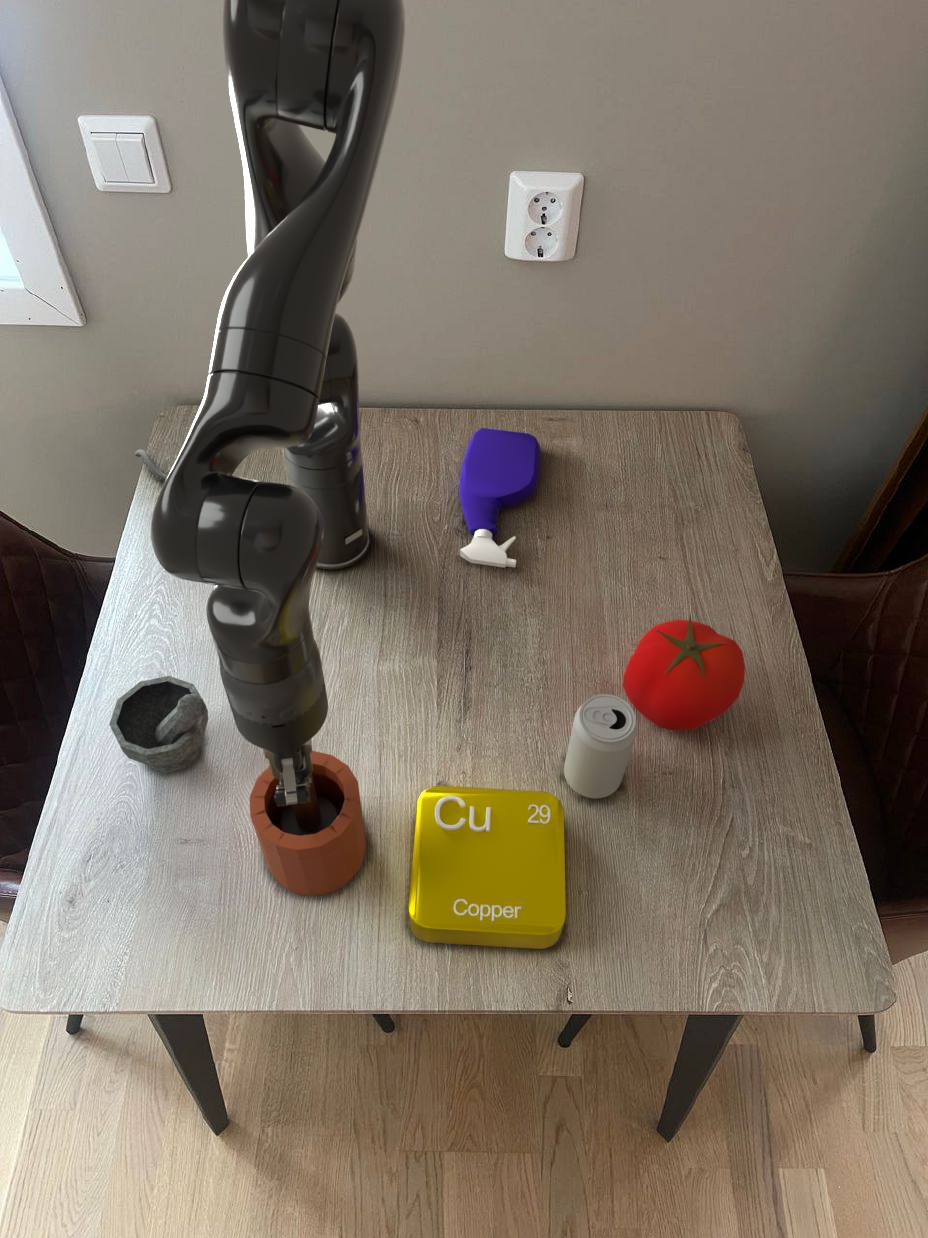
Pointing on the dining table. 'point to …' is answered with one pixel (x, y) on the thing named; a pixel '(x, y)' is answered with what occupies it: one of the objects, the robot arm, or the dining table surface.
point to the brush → (308, 815)
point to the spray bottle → (495, 488)
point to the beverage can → (600, 745)
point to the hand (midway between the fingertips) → (299, 786)
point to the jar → (318, 856)
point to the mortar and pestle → (160, 723)
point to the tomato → (684, 675)
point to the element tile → (488, 868)
